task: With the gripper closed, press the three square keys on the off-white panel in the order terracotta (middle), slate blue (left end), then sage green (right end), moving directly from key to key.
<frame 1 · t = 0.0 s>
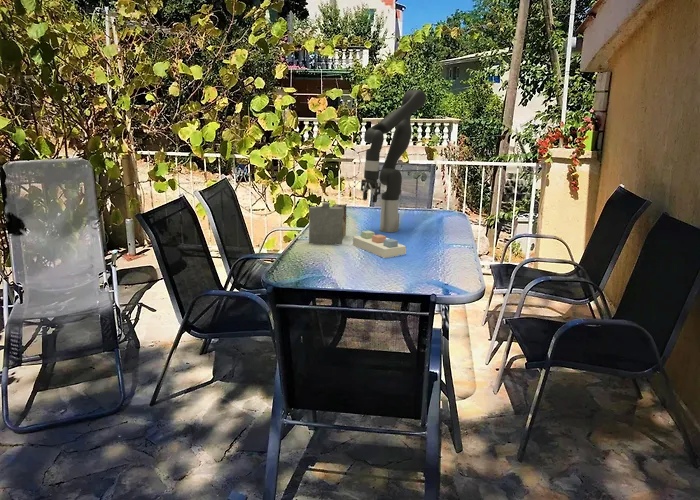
hand: (369, 201, 277), 17 cm above the table, tool pointing down, fingers open, 8 cm apart
key slate: (390, 243, 241), point 5 cm above the table, slide at 0.0 cm
coffee box: (337, 237, 272), on the table
key terracotta: (378, 238, 248), point 5 cm above the table, slide at 0.0 cm
button panel: (378, 249, 250), on the table
key sage: (367, 234, 256), point 5 cm above the table, slide at 0.0 cm
hip flask: (325, 243, 259), on the table
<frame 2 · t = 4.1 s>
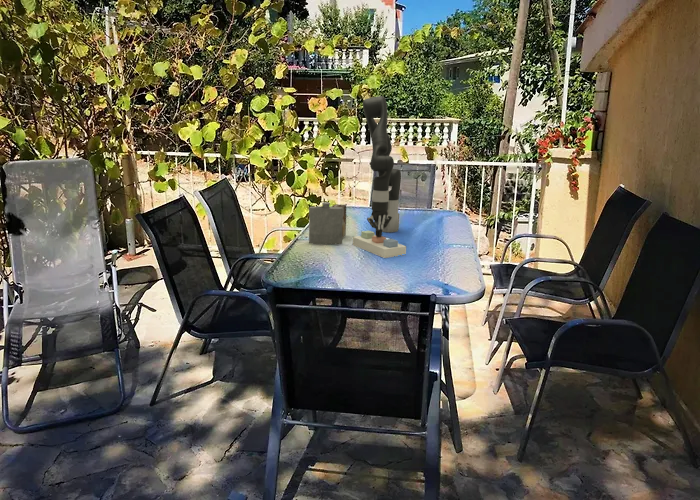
hand: (378, 236, 248), 6 cm above the table, tool pointing down, fingers closed
key terracotta: (378, 239, 249), point 5 cm above the table, slide at 0.4 cm, touching gripper
everything else where it was.
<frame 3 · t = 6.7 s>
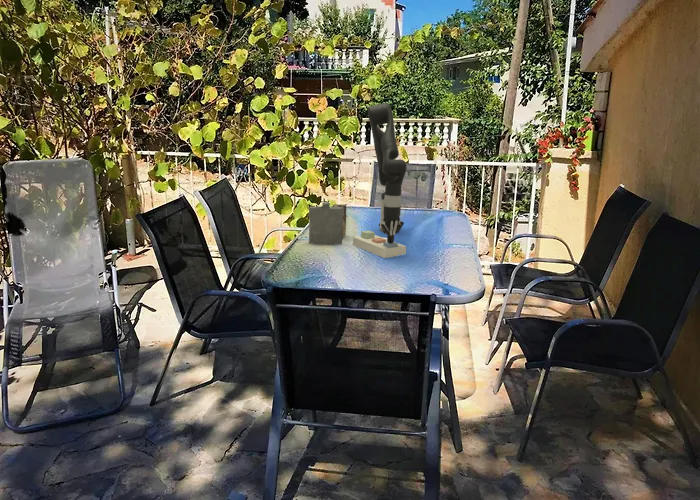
hand: (390, 242, 241), 5 cm above the table, tool pointing down, fingers closed
key slate: (390, 245, 242), point 4 cm above the table, slide at 1.3 cm, touching gripper
key terracotta: (378, 242, 249), point 4 cm above the table, slide at 1.5 cm
everything else where it was.
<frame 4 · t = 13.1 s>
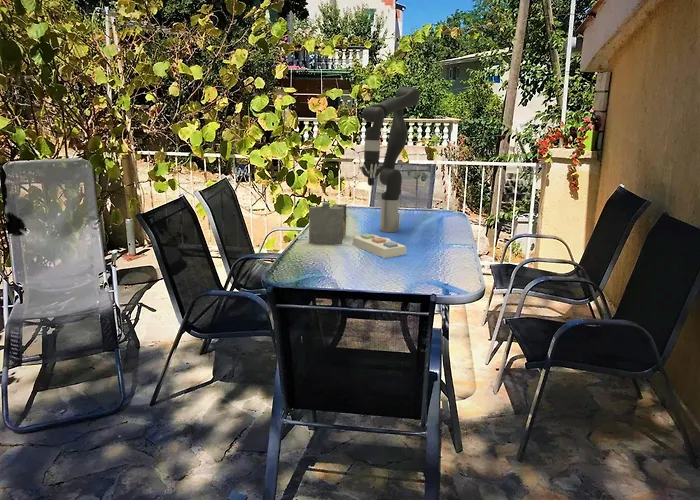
hand: (370, 185, 263), 27 cm above the table, tool pointing down, fingers closed
key slate: (390, 246, 242), point 4 cm above the table, slide at 1.5 cm
key sage: (367, 237, 256), point 4 cm above the table, slide at 1.5 cm
everything else where it was.
at the end: key terracotta slide at 1.5 cm; key slate slide at 1.5 cm; key sage slide at 1.5 cm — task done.
